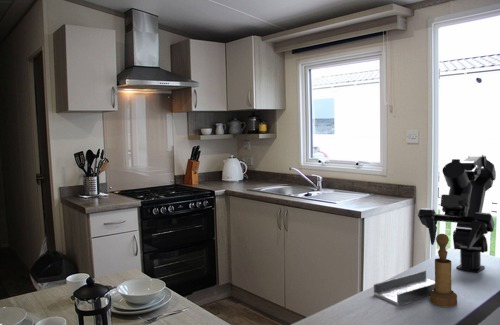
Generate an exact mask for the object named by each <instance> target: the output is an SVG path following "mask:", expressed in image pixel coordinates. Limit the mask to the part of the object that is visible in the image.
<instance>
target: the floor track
mask: <svg viewBox="0 0 500 325" xmlns="http://www.w3.org/2000/svg"><path fill="white" fill-rule="evenodd" d="M433 289H435V280H433V279H429V278H428V277H427V270H422V271H417V272H414V273H410V274H408V275H407V274H406V275H403V276H399V277H396V278H391V279H389V280H385V281H381V282H376V283H374V284H373V295H374V296H375V297H378V298H380V299H382V300H384V301H387V302H389V303H391V304H393V305H396V306H397V307H400V306H403V305H406V304H409V303H412V302H416V301H419V300H423V299H426V298H430V291H432V290H433Z"/></svg>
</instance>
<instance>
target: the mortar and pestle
mask: <svg viewBox="0 0 500 325" xmlns="http://www.w3.org/2000/svg"><path fill="white" fill-rule="evenodd" d="M449 240H450V239H449V236H448V235H447V234H444V233H439V234H437V235H436V236H435V241H436V244H437V245H438V248H439V249H438V250H437V254H438V258H435V259H434V281H435V289H433V290H432V291H430V296H429V302H430V303H431V304H433V305H435V306H438V307H442V308H453V307H456V306H458V294H457V293H456V292H454V290H453V289H452V260H450V259H447V257H448V251H447V250H446V247H447V246H448V243H449Z"/></svg>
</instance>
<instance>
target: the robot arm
mask: <svg viewBox="0 0 500 325" xmlns="http://www.w3.org/2000/svg"><path fill="white" fill-rule="evenodd" d="M442 174H443V177H444V180H445V182H446V185H447V187H448V188H449V190H448V194H441V195H440V196H441V198H440V207H442V209H441V210H442V214H440V213H436V211H435V209H434V208H424V207H422V208H420V209H419V210H418V212H417V218H418V219H419V222H420V223H421V224H422V225H423V226H425V228H427V229H428V234H429V241H430V245H431V246H433V245H434V244H435V241H436V237H437V235H436V234H437V230H438V227H437V224H438V222H445V223H446V222H447V223H455V224H456V227H455V229H454V230H453V233H452V240H453V242H452V243H453V249H454V250H459V251H460V252H459V255H460V256H459V257H460V260H459V262H460V263H459V265H457V266H456V267H455V268H456V269H457V270H461V271H466V272H467V271H468V272H473V273H479V272H480V271H482V270H484V269H485V267H486V266H485V265H482V264H481V259H482V258H481V254H482V253H488V251H489V248H488V240H487V237H486V236H485V235H486V234H488V233H493V232H494V228H495V221H494V218H493V215H492V214H491V213H490V212H483V207H484V201H485V196H486V193H487V192H486V191H489V189H491V188H492V187H493V183H494V181H495V180H496V177H497V176H496V174H497V173H496V168H495V165H494V164H493V162H491V161H490V160H488V159H487V156H486V155H484V154H470V155H468V156H467V158H465V159H464V160H463V161H462V160H461V159H460V158H453V159H451V162H448V163H447V164H445V165H444V166H443V168H442ZM443 213H444V214H443Z"/></svg>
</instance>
